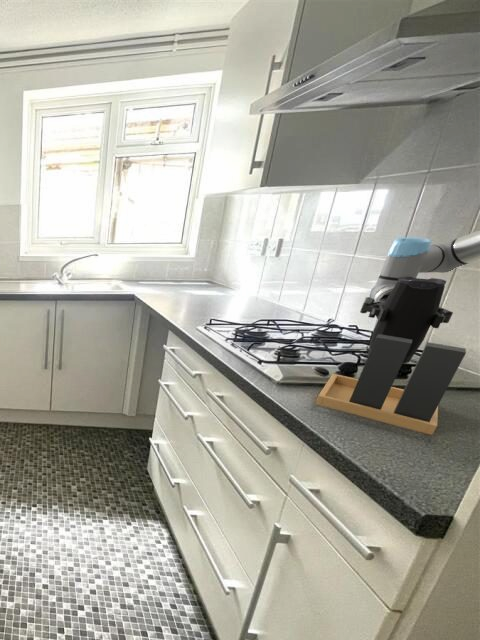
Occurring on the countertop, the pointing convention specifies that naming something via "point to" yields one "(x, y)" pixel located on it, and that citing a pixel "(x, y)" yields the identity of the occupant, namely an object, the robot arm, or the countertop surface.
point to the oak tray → (339, 396)
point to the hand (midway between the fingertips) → (410, 319)
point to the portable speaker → (410, 311)
